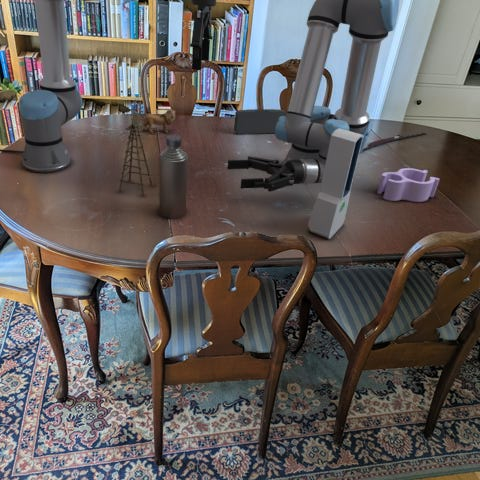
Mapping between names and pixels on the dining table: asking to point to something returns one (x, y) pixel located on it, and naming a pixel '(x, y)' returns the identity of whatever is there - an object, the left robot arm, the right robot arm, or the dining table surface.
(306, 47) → the right robot arm
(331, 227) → the electronic device
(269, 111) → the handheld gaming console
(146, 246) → the dining table surface
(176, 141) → the cap
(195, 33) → the left robot arm
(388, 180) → the clip
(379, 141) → the sword
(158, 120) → the lion figurine
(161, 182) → the bottle
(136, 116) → the miniature windmill
